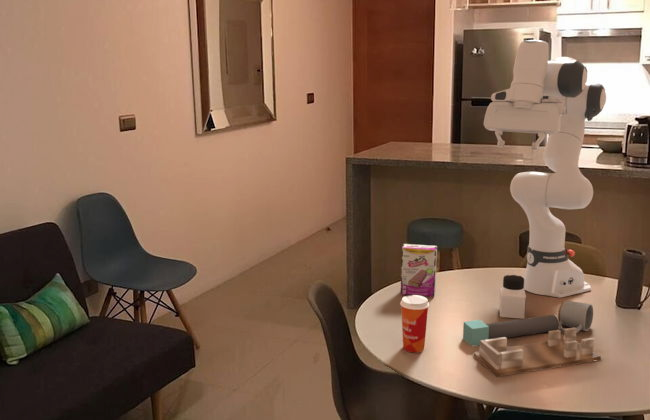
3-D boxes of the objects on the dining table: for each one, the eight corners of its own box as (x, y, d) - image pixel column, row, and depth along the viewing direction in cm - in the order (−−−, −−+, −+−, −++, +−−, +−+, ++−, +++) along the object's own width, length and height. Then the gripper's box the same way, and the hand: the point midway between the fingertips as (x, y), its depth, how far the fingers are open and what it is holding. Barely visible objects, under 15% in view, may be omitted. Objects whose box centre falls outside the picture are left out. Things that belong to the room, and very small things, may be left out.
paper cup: (394, 345, 183) (394, 296, 180) (418, 340, 186) (419, 292, 183) (409, 356, 176) (410, 306, 173) (433, 351, 179) (435, 302, 176)
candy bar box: (400, 295, 219) (401, 247, 215) (401, 290, 224) (402, 243, 220) (434, 298, 217) (436, 249, 213) (435, 292, 222) (437, 244, 218)
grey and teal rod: (548, 326, 194) (549, 310, 193) (559, 333, 190) (560, 316, 189) (462, 338, 187) (463, 321, 186) (471, 346, 182) (472, 329, 181)
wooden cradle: (571, 341, 185) (572, 324, 183) (600, 359, 173) (602, 341, 172) (473, 355, 176) (474, 338, 175) (497, 376, 165) (498, 358, 164)
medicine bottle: (524, 319, 200) (527, 281, 197) (500, 317, 201) (502, 279, 198) (522, 310, 206) (525, 273, 204) (498, 308, 208) (501, 271, 205)
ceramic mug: (564, 319, 199) (566, 295, 197) (592, 325, 194) (595, 301, 193) (551, 331, 191) (553, 306, 189) (581, 339, 186) (583, 313, 184)
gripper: (567, 102, 180) (559, 153, 179) (493, 99, 191) (485, 147, 190) (562, 96, 174) (553, 148, 174) (486, 93, 185) (478, 143, 185)
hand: (517, 148), depth 182 cm, fingers open, 8 cm apart
